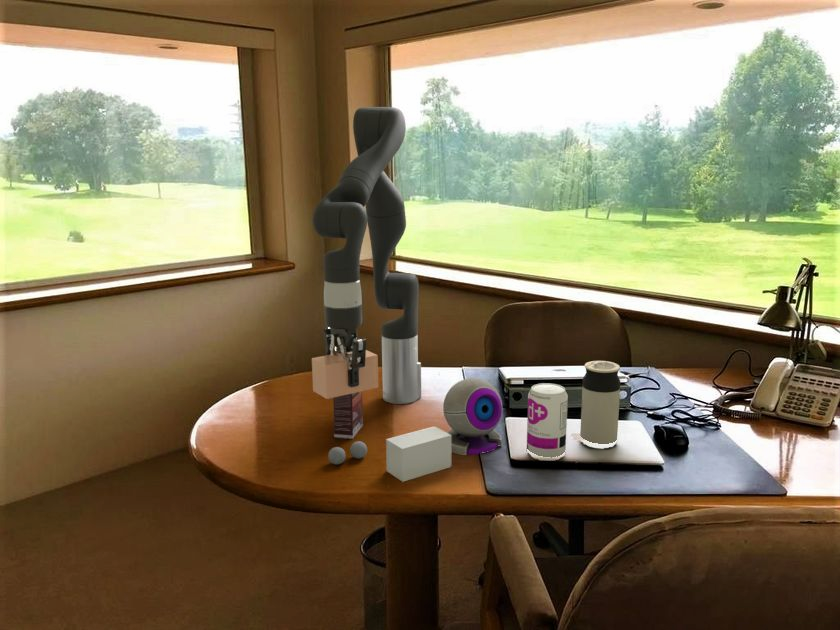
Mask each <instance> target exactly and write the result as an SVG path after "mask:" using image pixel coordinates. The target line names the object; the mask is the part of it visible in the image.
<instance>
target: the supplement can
mask: <svg viewBox="0 0 840 630" xmlns="http://www.w3.org/2000/svg"><path fill="white" fill-rule="evenodd" d="M568 397H569V395H568V393H567V392H566V388H565V387H564V386H562V385H561V384H557V383H550V382H549V383H547V382H546V383H545V382H542V383H541V382H540V383H537V384H534V385H532V386H531V388H530V390H529V391H528V394H527V423H526V424H527V425H526V426H527V427H526V431H527V432H526V450H527V449H528V450H529V451H530V452H532V453H534V454H536V455H538V456H543V457H551V458H552V457H556V456H557V457H558V456H560V455H562V454H563V453H564V452H565V453H566V451H567V449H566V446H567V445H566V444H567V424H568V423H567V421H568V420H567V419H568ZM565 450H566V451H565Z"/></svg>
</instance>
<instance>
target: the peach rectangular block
mask: <svg viewBox="0 0 840 630" xmlns="http://www.w3.org/2000/svg"><path fill="white" fill-rule="evenodd" d="M351 353H352V352H348V354H351ZM378 357H379V356H378V354H376V353H374V352H371V351H370V350H367V349H366V358H365V367H362V368H359V385H358V386H355V387H349V386H348V368H347V361H346V360H345V359H343V357H342V353H337V354H335V355H333V354H332V355H326V354H325V355H322V356H317V357H312V358H311V372H312V374H311V375H312V391H313V392H314V393H316V394H317V395H319V396H321V397H322V398H324V399H326V400H329V399H333V398H334V397H338V396H343V395H347V394H352V393H356V392H361V391H362V392H365V391H369V390H373V389H377V388H379V364H378V363H379V360H378V359H379V358H378ZM350 360H351V363H352V358H350ZM359 360H360V358H359Z"/></svg>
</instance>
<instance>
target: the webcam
mask: <svg viewBox="0 0 840 630" xmlns="http://www.w3.org/2000/svg"><path fill="white" fill-rule="evenodd" d="M442 407H443V408H442V410H443V416H444V418H445V421H446V422H447V425H448V426H449V427H450V428H451V429H449V430H448V431H446V432H447V433H448V434H450V435H451V453H454V454H458V455H460V456H468V455H480V454H479V453H482V452H487V451H491V450H493V449H495V448H496V447H497V446H498V445H500V446H501V445H502V446H503V439H502V436H501V434H500V432H498V431H496V430H495V429H496V427H497V426H498V425H499V423H500V422H501V419H502V416H503V401H502V398H501V396H500V394H499V392H498V390H497V389H496V388H495V387H494V386H493V385H492V384H491V383H490V382H488V381H486V380H483V379H481V378H476V377H475V378H474V377H470V378H469V377H468V378H464V379H462V380H460V381H458V382H456V383H455V384H453V385H452V386H451V387H450V389H448V391H447V393H446V395H445V397H444V399H443V405H442ZM498 447H499V446H498ZM498 447H497V448H498ZM497 448H496V449H497ZM496 449H495V450H496ZM493 451H494V450H493ZM491 452H492V451H491Z"/></svg>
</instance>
